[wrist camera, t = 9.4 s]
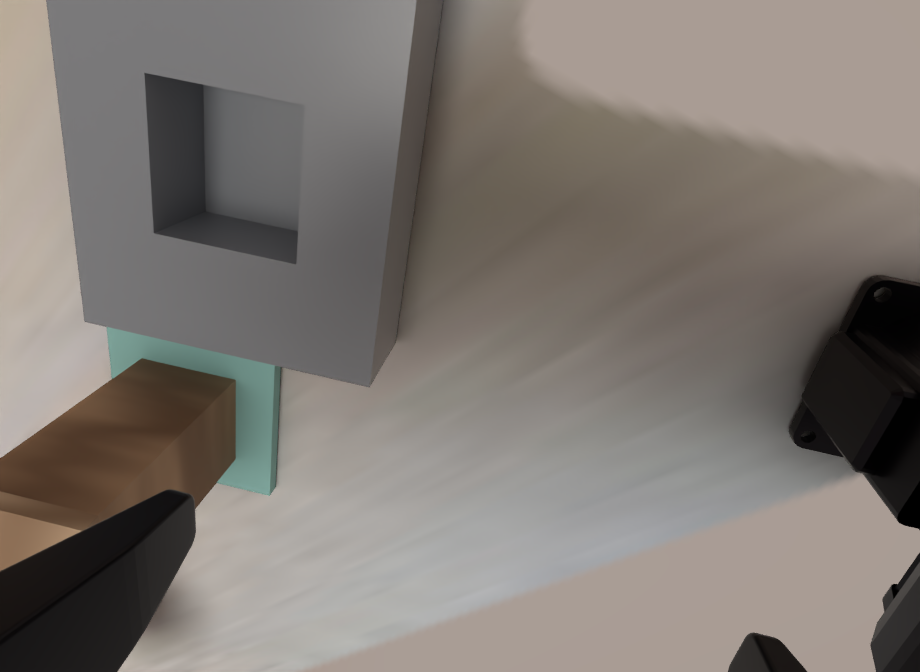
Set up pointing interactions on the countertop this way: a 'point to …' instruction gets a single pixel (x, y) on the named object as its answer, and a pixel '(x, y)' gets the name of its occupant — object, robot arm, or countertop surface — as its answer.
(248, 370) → the mat
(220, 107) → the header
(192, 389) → the plug
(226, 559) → the countertop surface
